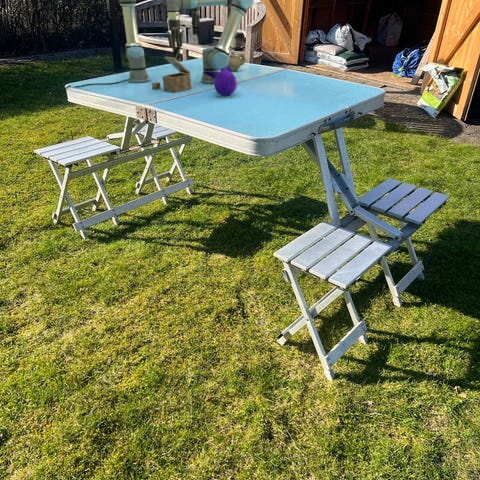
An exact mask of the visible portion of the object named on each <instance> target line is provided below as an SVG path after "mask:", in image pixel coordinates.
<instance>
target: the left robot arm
mask: <svg viewBox="0 0 480 480" xmlns="http://www.w3.org/2000/svg"><path fill="white" fill-rule="evenodd" d="M119 5H120V6H121V8H122V13H123V22H124V29H125V35H126V36H125V38H126V43H125V56H126V59H127V60H128V66H129V76H128V79H124V80H120V81H115V82H105V83H103V82H97V83H95V82H94V83H86V84H80V85H81V86H80V85H74V86H75V87H74V88H81V87H86V86H95V85H97V86H98V85H99V86H101V85H103V86H104V85H106V86H108V85H115V84H120V83H124V82H127V81H128V82H129V83H133V84H141V83H148V82H150V76H149V74H148V71H147V67H146V59H145V50H144V48H143V47H142V43H140V42H139V41H140V40H139V34H138V25H137V17H136V8H135V6H136V5H137V0H119ZM189 11H191V26H192V35H194V36H195V35H196V37H201V20H200V13H199V11H201V7H196V8H192V9H191V8H190V9H189ZM71 86H72V85H67V86H66V87H64V90H67V89H68V88H72V87H71ZM70 135H71V140H72V141H74V135H73V130H72V129H71V130H70Z"/></svg>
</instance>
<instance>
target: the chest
mask: <svg viewBox="0 0 480 480" xmlns="http://www.w3.org/2000/svg"><path fill="white" fill-rule="evenodd" d="M162 85H163V91H164V92H168V93H179V92H183V91H188V90H191V89H192V78H191V73H190V74H187V73H182V72H176V73H171V74H165V75H162Z"/></svg>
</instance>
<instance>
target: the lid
mask: <svg viewBox="0 0 480 480" xmlns="http://www.w3.org/2000/svg"><path fill="white" fill-rule="evenodd" d="M178 53H181V49H180V50H177V54H176V56H175V58H174V53H173V51H172V53H171V54H170V56H166V55H165V56H164V59H165V60H166V61H167V62H168V63H169V64H171V65H172V66H173V67H174V68H175V69H176V70H177V71H178V72H179V73H186V74H190V75H191V71H190V70H189V69H188V68H187V67H186V66H184V65H183V63H181V62H180V61H179V59H176V57H177V55H178Z"/></svg>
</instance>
